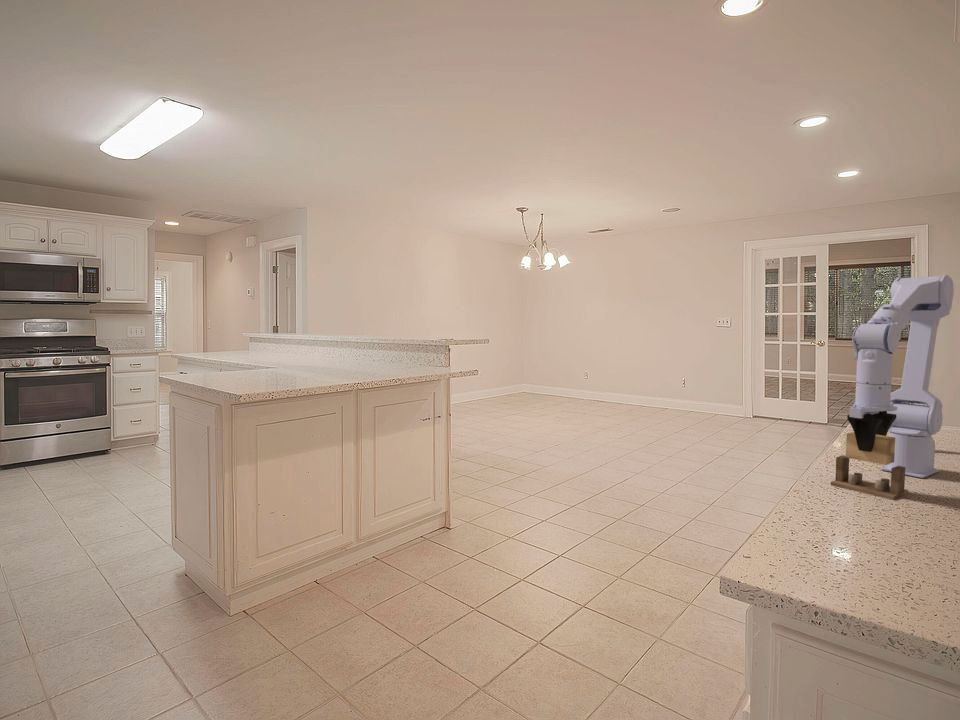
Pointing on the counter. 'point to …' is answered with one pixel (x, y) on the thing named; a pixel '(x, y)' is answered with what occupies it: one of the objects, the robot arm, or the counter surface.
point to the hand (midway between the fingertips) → (870, 449)
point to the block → (880, 452)
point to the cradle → (868, 487)
